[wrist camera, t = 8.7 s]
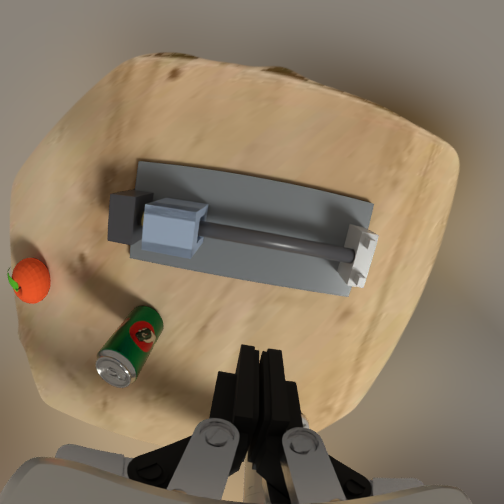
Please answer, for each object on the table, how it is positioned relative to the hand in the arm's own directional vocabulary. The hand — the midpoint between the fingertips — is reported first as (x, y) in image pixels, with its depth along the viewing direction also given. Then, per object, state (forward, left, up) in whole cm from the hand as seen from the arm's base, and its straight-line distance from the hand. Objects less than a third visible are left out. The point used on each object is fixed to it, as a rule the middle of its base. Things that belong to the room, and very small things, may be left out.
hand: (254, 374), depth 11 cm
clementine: (-11, +33, -23) cm, 41 cm away
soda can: (-14, +13, -23) cm, 29 cm away
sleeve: (+1, +9, -21) cm, 23 cm away
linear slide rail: (+1, +2, -22) cm, 23 cm away
